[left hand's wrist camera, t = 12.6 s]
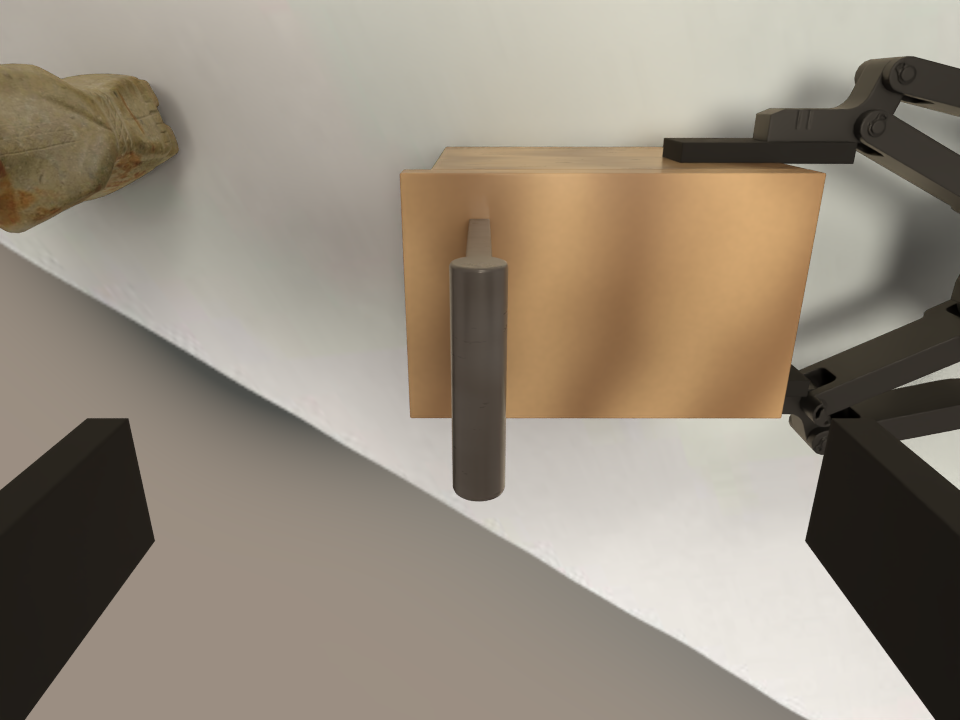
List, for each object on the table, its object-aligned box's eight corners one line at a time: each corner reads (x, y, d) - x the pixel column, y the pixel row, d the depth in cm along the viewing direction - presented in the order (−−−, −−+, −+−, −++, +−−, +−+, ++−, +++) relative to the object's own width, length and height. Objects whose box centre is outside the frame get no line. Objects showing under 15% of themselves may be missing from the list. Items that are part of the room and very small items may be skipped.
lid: (413, 404, 26) (382, 543, 18) (403, 169, 23) (361, 210, 15) (768, 404, 26) (898, 544, 18) (810, 169, 23) (990, 211, 15)
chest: (448, 320, 36) (436, 404, 26) (445, 146, 33) (430, 169, 23) (690, 320, 36) (768, 404, 26) (711, 147, 33) (809, 169, 23)
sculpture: (20, 94, 32) (-339, 96, 18) (159, 50, 31) (-102, 15, 17) (79, 214, 34) (-203, 299, 20) (210, 175, 33) (15, 235, 19)
